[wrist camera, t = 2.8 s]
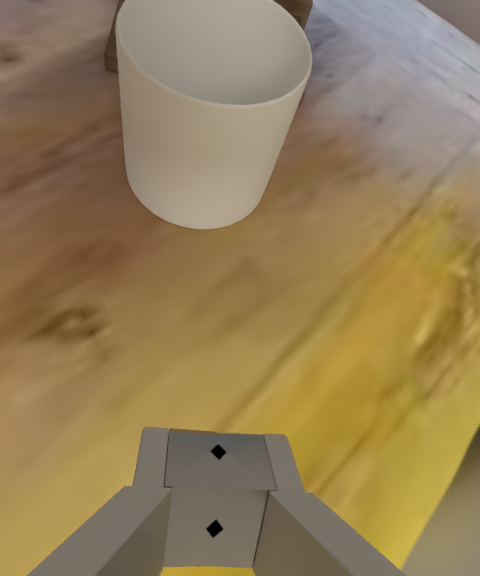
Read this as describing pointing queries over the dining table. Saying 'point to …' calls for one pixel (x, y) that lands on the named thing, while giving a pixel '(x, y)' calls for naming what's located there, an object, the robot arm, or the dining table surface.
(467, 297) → the dining table surface
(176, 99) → the cup
